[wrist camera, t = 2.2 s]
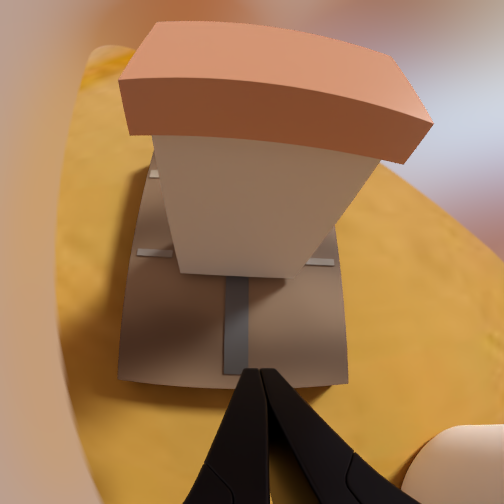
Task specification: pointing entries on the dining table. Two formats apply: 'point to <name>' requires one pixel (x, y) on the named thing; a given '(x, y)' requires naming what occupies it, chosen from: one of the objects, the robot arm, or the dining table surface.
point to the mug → (459, 467)
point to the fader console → (226, 315)
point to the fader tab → (263, 137)
